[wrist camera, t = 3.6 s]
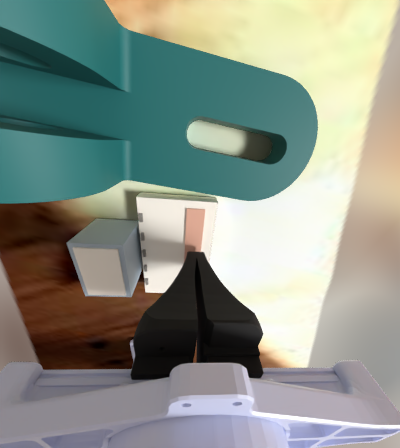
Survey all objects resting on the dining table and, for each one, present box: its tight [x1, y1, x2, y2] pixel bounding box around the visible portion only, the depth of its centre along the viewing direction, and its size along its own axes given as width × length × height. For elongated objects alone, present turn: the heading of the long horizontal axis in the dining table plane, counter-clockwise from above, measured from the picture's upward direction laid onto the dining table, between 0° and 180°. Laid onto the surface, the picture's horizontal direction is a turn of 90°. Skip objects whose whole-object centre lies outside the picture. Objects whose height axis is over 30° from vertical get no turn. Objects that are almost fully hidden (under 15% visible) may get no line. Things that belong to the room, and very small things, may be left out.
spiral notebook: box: [136, 192, 218, 293], centre depth 15 cm, size 10×6×1 cm, turn 175°
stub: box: [67, 218, 143, 297], centre depth 13 cm, size 5×4×4 cm
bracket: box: [0, 0, 318, 203], centre depth 7 cm, size 18×7×8 cm, turn 79°
